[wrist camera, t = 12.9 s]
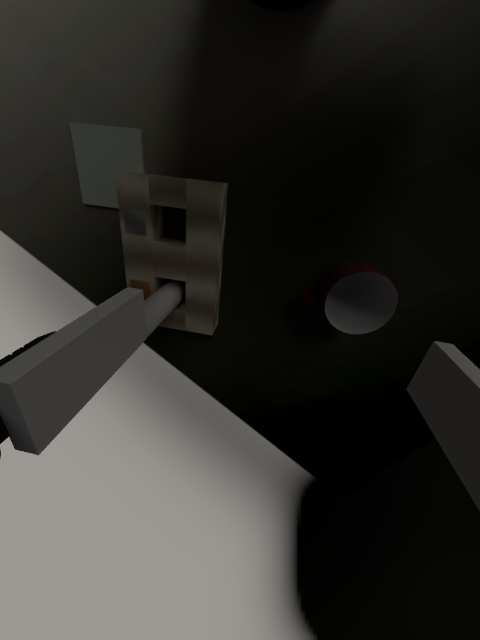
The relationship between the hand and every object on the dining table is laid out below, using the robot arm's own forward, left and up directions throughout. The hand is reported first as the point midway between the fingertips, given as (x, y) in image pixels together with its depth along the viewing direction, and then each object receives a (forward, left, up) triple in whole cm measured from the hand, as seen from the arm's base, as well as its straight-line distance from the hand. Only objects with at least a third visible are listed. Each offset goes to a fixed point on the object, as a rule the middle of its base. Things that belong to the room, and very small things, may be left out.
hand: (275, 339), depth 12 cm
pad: (-6, -26, -29) cm, 39 cm away
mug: (+5, +9, -29) cm, 30 cm away
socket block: (+5, -16, -29) cm, 33 cm away
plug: (+10, -16, -29) cm, 34 cm away
